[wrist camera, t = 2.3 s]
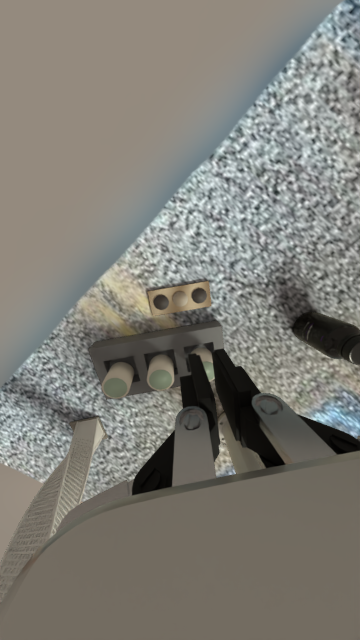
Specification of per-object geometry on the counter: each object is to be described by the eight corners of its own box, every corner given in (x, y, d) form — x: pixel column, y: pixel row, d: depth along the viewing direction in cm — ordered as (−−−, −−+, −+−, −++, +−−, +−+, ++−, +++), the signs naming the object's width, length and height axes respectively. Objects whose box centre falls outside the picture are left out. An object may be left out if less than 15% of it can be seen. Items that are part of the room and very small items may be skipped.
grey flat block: (216, 320, 37) (221, 326, 34) (221, 368, 41) (226, 377, 38) (95, 341, 37) (88, 349, 33) (111, 388, 40) (106, 399, 37)
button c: (136, 380, 36) (132, 396, 31) (113, 384, 36) (105, 401, 31) (130, 359, 34) (125, 374, 30) (106, 364, 34) (97, 379, 30)
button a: (213, 366, 36) (219, 380, 32) (190, 370, 36) (193, 385, 32) (210, 345, 35) (217, 357, 30) (187, 349, 35) (190, 362, 30)
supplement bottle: (287, 321, 38) (338, 346, 27) (316, 305, 38) (381, 323, 26) (297, 345, 40) (349, 377, 29) (325, 330, 40) (389, 356, 28)
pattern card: (208, 280, 34) (208, 281, 34) (210, 305, 36) (211, 306, 35) (147, 291, 34) (147, 291, 34) (153, 315, 36) (152, 316, 35)
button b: (175, 373, 36) (176, 388, 32) (152, 377, 36) (149, 393, 31) (171, 352, 34) (171, 366, 30) (147, 357, 34) (144, 370, 30)
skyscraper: (67, 417, 42) (-103, 681, 16) (100, 410, 42) (-13, 661, 16) (81, 442, 45) (-45, 704, 18) (112, 435, 45) (31, 687, 18)
